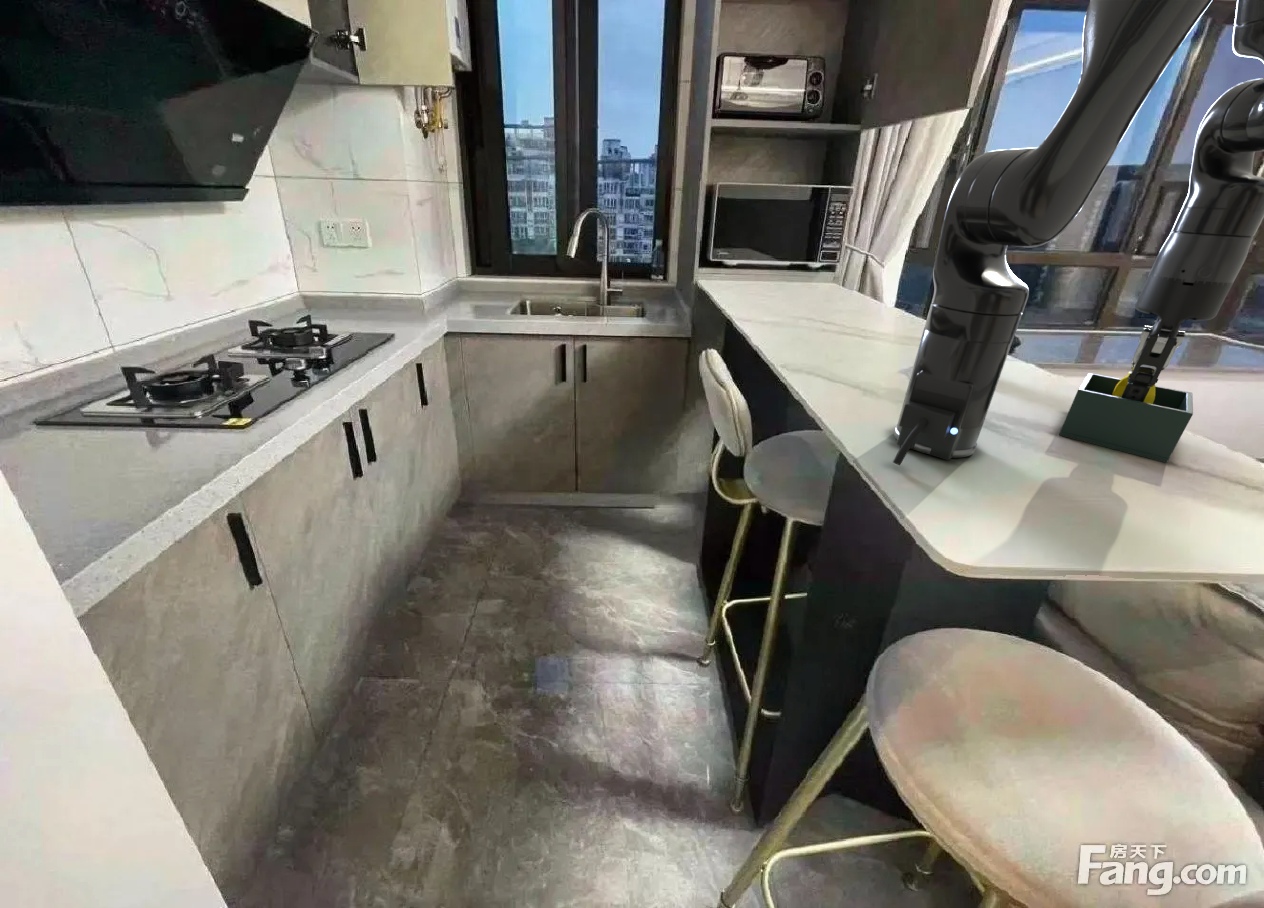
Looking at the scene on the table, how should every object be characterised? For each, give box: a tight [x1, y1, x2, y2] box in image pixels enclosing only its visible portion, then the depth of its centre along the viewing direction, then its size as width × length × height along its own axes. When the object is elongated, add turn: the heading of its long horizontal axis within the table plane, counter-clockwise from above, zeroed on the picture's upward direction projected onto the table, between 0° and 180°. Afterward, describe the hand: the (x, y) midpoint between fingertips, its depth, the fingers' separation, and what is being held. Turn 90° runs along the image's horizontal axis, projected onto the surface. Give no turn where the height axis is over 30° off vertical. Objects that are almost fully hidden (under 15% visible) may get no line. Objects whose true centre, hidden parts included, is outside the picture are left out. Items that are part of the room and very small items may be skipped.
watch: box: [1112, 370, 1156, 404], centre depth 72 cm, size 6×3×6 cm, turn 167°
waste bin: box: [1058, 372, 1194, 463], centre depth 73 cm, size 11×11×7 cm
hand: (1128, 405), depth 72 cm, fingers closed on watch, 5 cm apart
